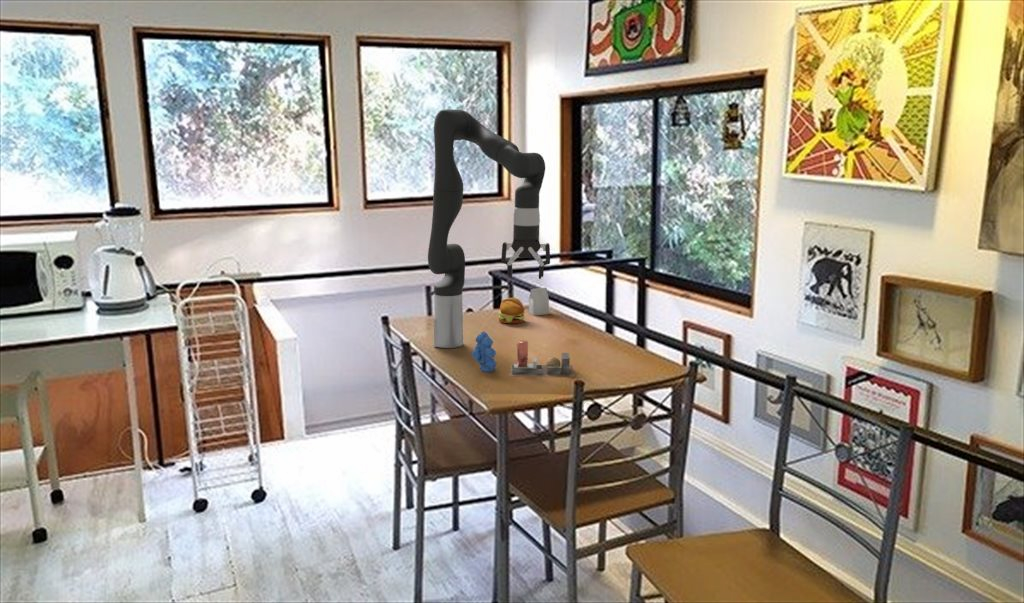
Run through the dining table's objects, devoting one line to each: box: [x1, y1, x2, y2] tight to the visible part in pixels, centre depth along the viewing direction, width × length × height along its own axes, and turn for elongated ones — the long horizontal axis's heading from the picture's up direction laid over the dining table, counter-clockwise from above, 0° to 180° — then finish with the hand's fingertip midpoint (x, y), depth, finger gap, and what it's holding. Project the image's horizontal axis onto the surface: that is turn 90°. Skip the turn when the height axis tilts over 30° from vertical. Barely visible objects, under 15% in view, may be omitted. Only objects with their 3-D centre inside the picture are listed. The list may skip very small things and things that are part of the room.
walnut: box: [545, 356, 561, 366], centre depth 216 cm, size 4×4×4 cm
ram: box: [513, 340, 538, 370], centre depth 216 cm, size 6×4×8 cm, turn 89°
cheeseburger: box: [498, 297, 526, 325], centre depth 282 cm, size 10×11×10 cm
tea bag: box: [528, 287, 550, 317], centre depth 294 cm, size 4×7×10 cm, turn 116°
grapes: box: [471, 331, 497, 373], centre depth 218 cm, size 12×7×12 cm, turn 24°
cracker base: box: [509, 352, 575, 378], centre depth 217 cm, size 18×11×6 cm, turn 89°
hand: (525, 278), depth 223 cm, fingers open, 8 cm apart
